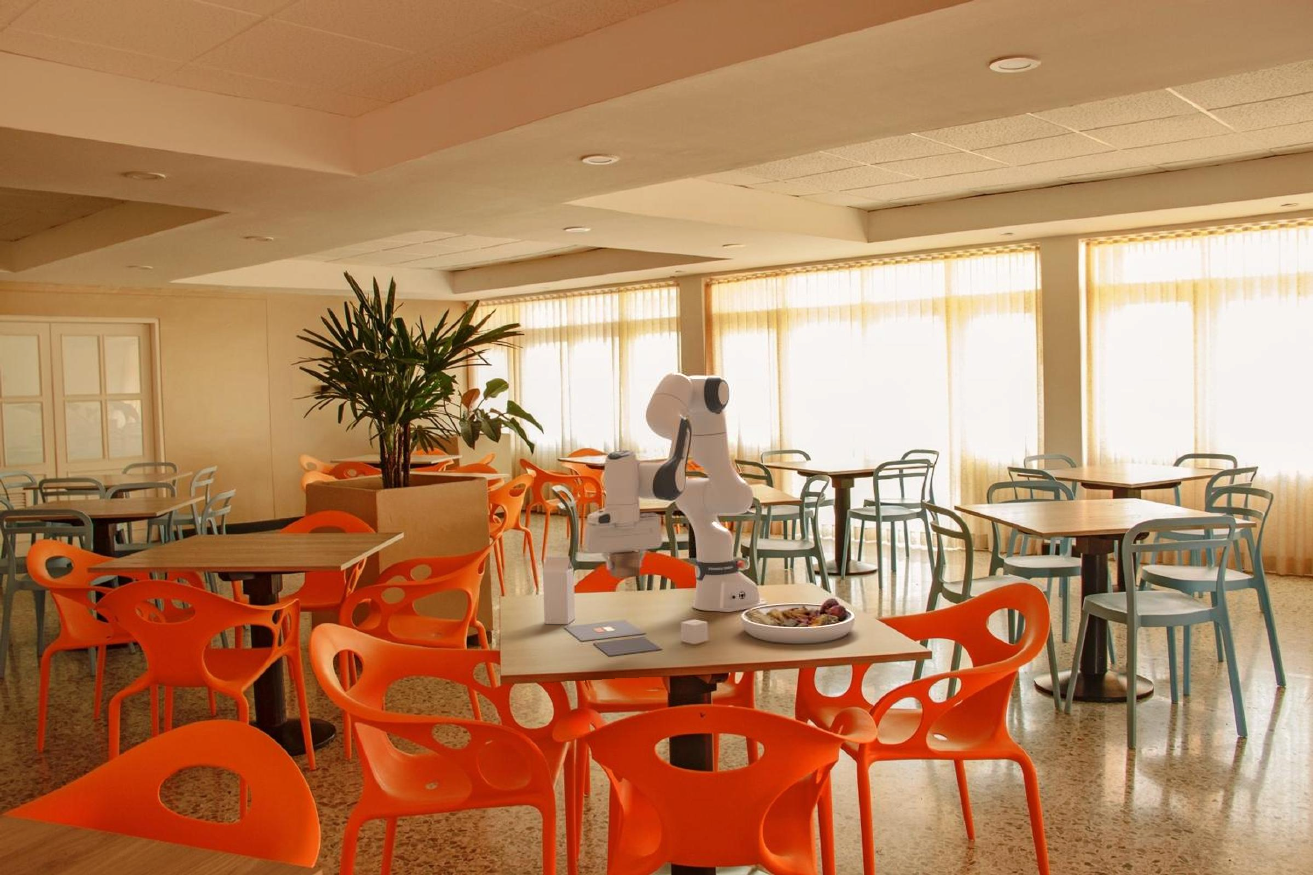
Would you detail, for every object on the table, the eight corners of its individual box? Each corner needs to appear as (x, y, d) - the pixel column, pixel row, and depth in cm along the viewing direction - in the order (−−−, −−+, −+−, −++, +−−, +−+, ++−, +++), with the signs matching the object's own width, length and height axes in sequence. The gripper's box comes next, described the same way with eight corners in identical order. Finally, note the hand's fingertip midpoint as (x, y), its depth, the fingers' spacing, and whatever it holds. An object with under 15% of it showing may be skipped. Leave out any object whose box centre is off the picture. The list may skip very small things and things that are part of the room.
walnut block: (631, 572, 261) (631, 549, 260) (639, 576, 255) (638, 552, 255) (609, 574, 259) (609, 551, 258) (617, 578, 253) (616, 554, 253)
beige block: (695, 637, 265) (694, 619, 265) (708, 640, 262) (707, 621, 261) (681, 641, 262) (680, 622, 262) (694, 644, 258) (693, 625, 258)
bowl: (790, 653, 247) (789, 621, 247) (719, 631, 273) (718, 602, 272) (878, 634, 263) (878, 605, 263) (803, 615, 288) (803, 588, 288)
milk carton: (568, 624, 285) (565, 558, 285) (544, 624, 287) (542, 558, 286) (575, 619, 292) (573, 554, 291) (551, 618, 294) (549, 554, 293)
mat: (643, 637, 267) (643, 636, 267) (662, 649, 253) (661, 648, 253) (593, 644, 262) (593, 642, 262) (609, 656, 249) (609, 655, 249)
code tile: (624, 620, 288) (624, 619, 288) (645, 634, 271) (645, 632, 271) (563, 627, 282) (563, 626, 282) (581, 641, 265) (581, 640, 265)
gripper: (656, 510, 263) (657, 562, 263) (581, 516, 256) (583, 569, 256) (664, 512, 257) (666, 566, 257) (588, 518, 250) (590, 573, 250)
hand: (624, 568), depth 257 cm, fingers closed on walnut block, 6 cm apart
